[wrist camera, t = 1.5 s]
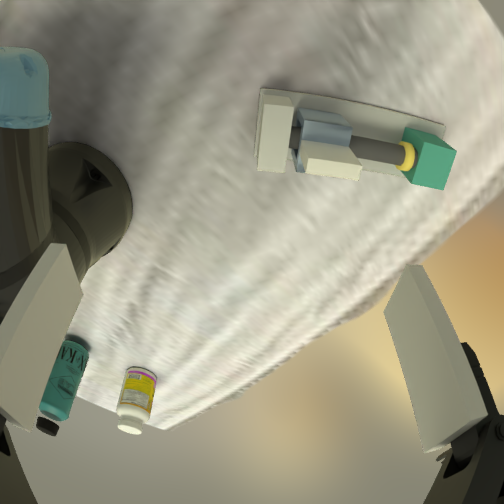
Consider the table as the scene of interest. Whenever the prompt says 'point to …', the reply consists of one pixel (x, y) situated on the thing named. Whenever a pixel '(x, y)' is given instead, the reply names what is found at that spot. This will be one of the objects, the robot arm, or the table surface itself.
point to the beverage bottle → (62, 385)
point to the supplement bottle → (136, 400)
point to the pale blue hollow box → (325, 145)
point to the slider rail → (356, 137)
